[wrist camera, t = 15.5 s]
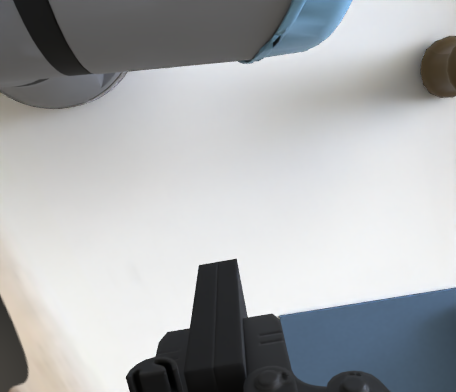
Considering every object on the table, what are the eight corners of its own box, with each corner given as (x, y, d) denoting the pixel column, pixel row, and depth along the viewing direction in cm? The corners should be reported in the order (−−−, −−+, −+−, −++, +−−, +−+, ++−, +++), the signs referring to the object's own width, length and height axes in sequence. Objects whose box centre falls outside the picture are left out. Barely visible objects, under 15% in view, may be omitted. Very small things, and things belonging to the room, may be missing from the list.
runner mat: (300, 443, 48) (300, 445, 48) (279, 315, 45) (279, 317, 44) (612, 397, 47) (614, 399, 47) (618, 261, 43) (621, 262, 43)
